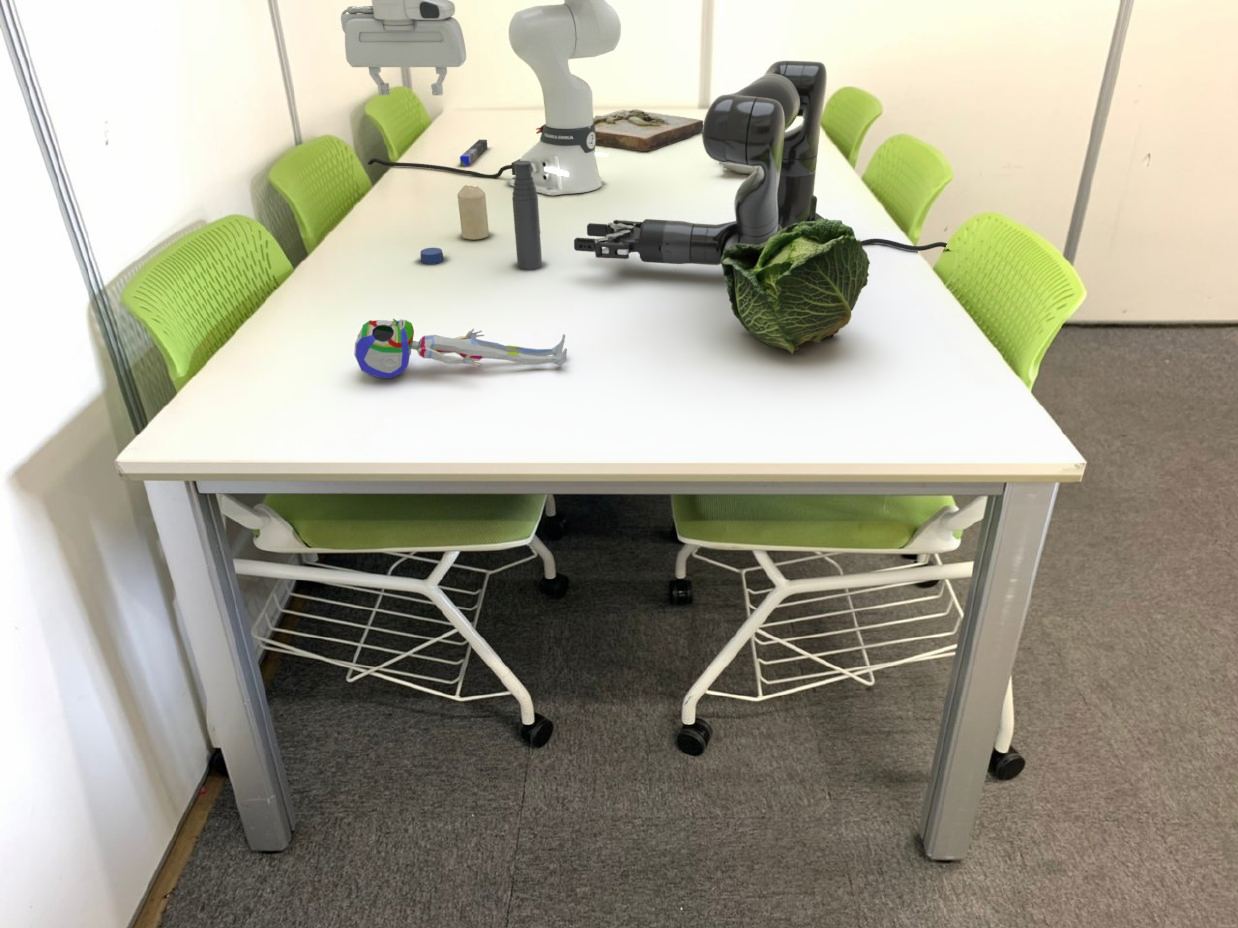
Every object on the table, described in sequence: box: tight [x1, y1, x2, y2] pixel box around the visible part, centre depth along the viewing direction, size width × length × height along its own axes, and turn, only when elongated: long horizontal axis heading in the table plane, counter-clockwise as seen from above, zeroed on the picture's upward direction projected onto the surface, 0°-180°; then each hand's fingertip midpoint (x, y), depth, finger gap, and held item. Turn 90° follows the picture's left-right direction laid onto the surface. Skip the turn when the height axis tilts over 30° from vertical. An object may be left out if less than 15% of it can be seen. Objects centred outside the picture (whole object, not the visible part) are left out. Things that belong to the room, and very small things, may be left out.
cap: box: [420, 247, 444, 265], centre depth 171 cm, size 4×4×2 cm
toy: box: [353, 318, 568, 379], centre depth 130 cm, size 10×8×30 cm
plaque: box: [593, 108, 704, 152], centre depth 257 cm, size 30×7×30 cm
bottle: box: [511, 160, 543, 271], centre depth 164 cm, size 5×5×19 cm
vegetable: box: [720, 217, 871, 354], centre depth 134 cm, size 20×19×20 cm
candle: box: [456, 184, 490, 240], centre depth 181 cm, size 6×6×10 cm
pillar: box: [459, 139, 488, 167], centre depth 240 cm, size 2×2×20 cm
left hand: (411, 95), depth 156 cm, fingers open, 8 cm apart
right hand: (581, 236), depth 164 cm, fingers open, 8 cm apart
